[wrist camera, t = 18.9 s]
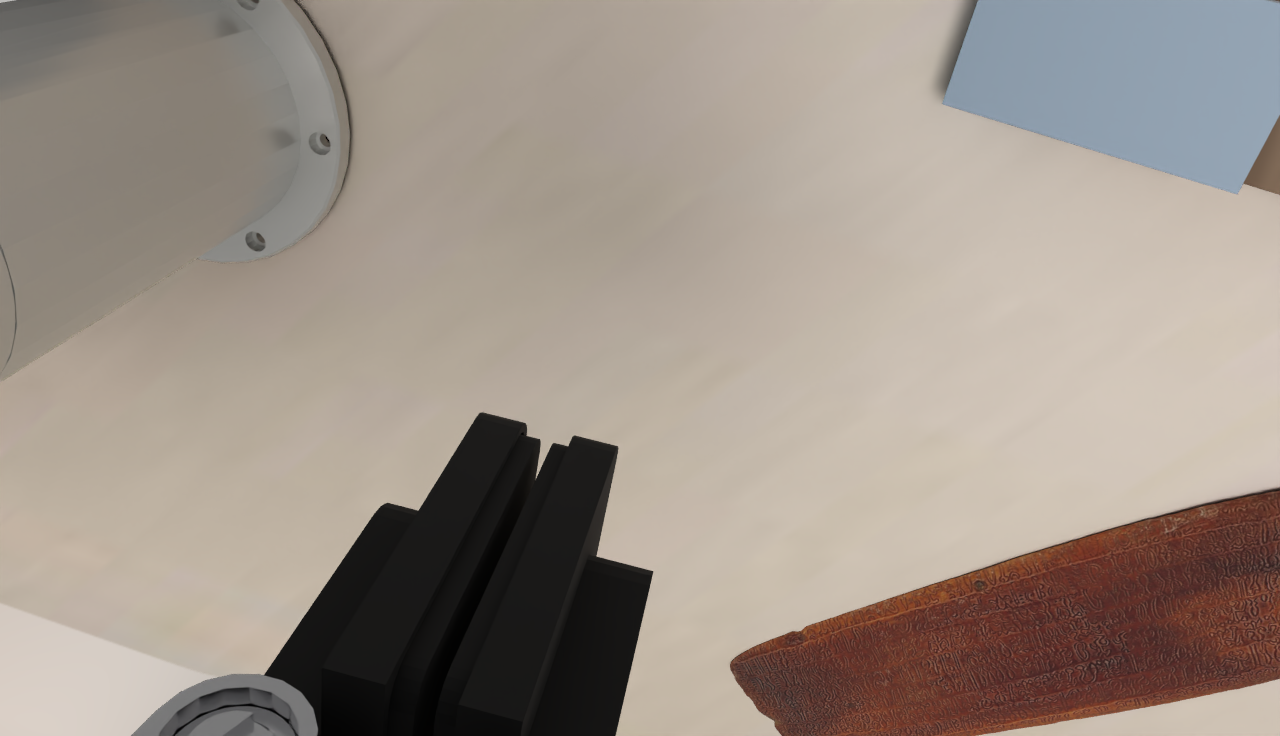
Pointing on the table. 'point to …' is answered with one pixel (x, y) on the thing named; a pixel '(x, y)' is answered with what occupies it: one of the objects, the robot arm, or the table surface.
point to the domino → (1130, 78)
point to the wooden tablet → (1043, 635)
